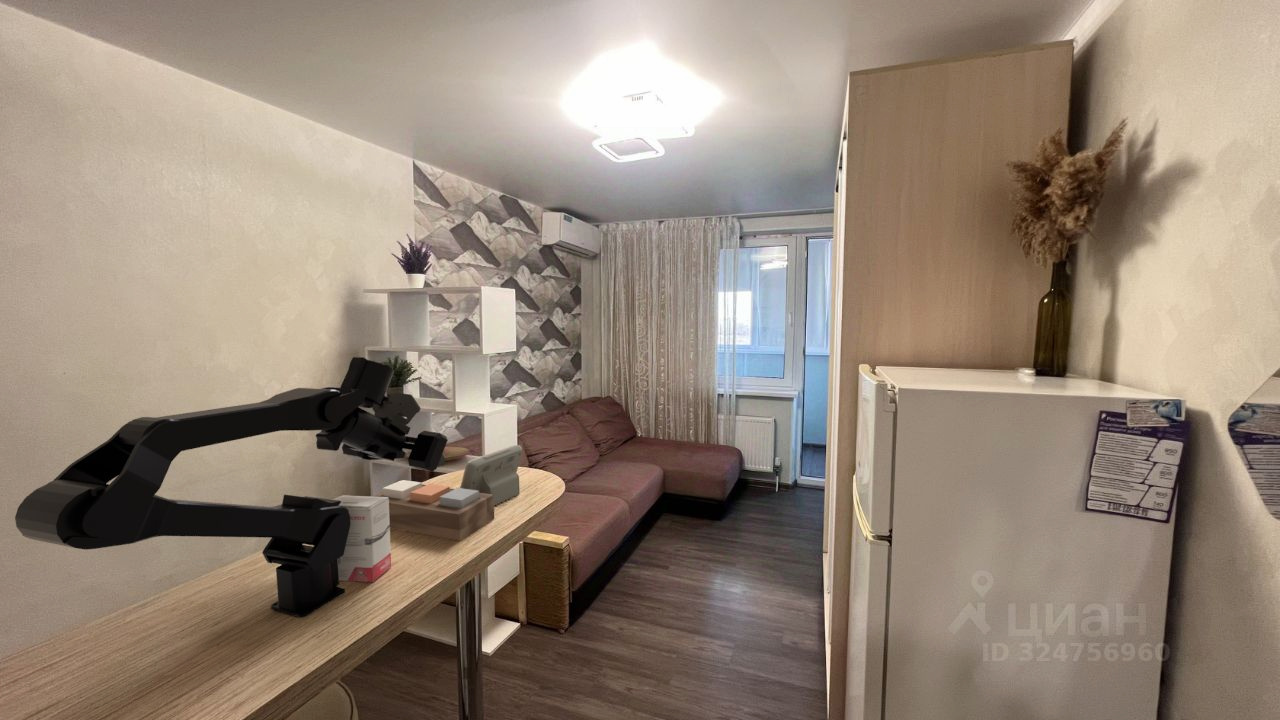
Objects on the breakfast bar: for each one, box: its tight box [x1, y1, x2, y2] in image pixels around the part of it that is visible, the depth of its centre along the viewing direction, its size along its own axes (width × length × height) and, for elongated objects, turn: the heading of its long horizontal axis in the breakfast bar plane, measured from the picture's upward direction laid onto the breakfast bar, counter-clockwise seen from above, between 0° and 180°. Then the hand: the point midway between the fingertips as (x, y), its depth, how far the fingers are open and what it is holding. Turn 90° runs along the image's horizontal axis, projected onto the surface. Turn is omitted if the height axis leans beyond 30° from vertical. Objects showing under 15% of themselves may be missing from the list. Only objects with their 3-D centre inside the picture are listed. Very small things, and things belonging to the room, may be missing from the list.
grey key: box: [440, 487, 479, 509], centre depth 92 cm, size 5×5×3 cm
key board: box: [371, 483, 495, 542], centre depth 95 cm, size 10×22×5 cm, turn 71°
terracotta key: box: [410, 483, 451, 504], centre depth 94 cm, size 5×5×3 cm
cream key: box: [382, 479, 423, 499], centre depth 97 cm, size 5×5×3 cm
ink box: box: [331, 494, 392, 583], centre depth 75 cm, size 9×5×12 cm, turn 84°
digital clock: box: [459, 444, 523, 507], centre depth 106 cm, size 16×9×11 cm, turn 141°
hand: (423, 458), depth 90 cm, fingers open, 9 cm apart
